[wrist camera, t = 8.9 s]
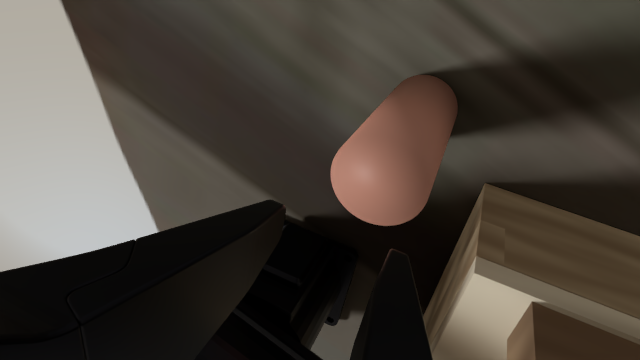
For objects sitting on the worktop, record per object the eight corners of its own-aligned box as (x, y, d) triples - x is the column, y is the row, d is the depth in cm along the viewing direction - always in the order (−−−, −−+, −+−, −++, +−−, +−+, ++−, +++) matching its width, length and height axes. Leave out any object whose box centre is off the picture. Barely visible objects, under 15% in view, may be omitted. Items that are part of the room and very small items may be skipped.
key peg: (440, 150, 20) (407, 241, 14) (379, 125, 21) (320, 200, 14) (469, 90, 18) (448, 160, 12) (403, 64, 19) (346, 117, 12)
